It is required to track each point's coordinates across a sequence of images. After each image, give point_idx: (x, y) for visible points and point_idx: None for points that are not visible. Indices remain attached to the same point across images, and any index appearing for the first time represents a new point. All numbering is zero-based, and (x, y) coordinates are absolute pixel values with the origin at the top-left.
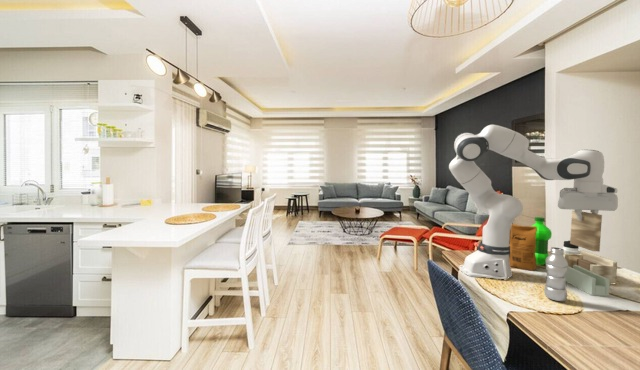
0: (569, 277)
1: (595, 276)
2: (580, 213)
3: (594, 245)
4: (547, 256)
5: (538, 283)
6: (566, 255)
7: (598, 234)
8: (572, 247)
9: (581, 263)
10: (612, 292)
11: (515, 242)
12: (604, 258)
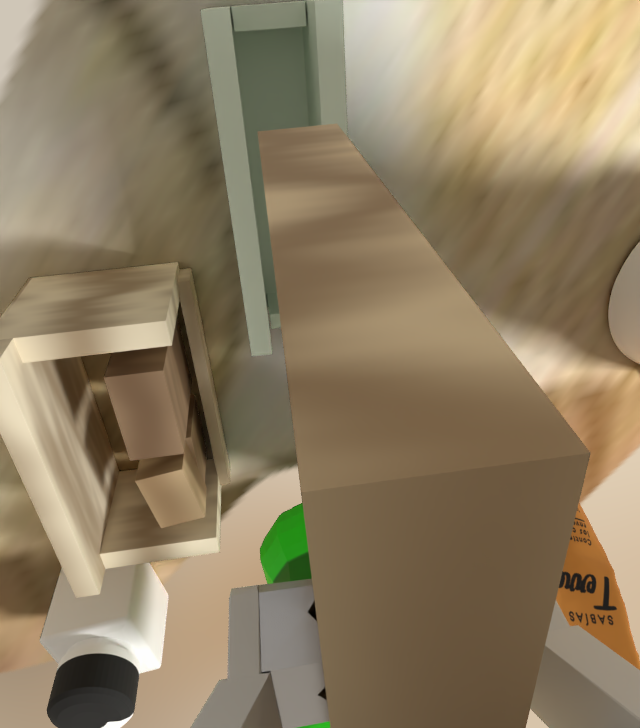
0: None
1: (244, 129)
2: (627, 704)
3: (332, 141)
4: (292, 539)
5: (546, 158)
6: (206, 531)
7: (305, 195)
8: (101, 659)
9: (180, 414)
10: (133, 107)
11: (579, 546)
12: (23, 439)
